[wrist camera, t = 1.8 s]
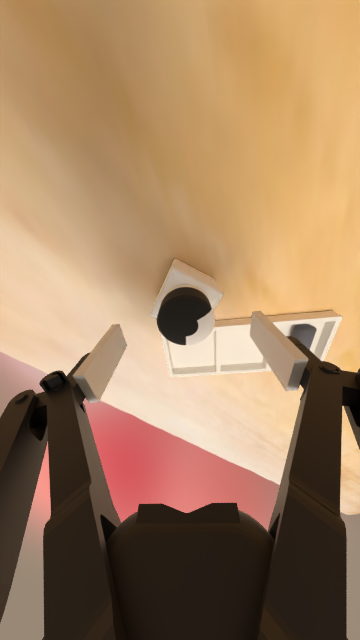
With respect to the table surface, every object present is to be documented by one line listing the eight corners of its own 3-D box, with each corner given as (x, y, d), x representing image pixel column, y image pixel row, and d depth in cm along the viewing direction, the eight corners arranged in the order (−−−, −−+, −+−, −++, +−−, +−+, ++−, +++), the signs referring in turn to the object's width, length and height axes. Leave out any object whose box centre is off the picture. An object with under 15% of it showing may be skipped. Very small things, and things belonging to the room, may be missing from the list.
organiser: (161, 325, 30) (160, 331, 28) (331, 310, 28) (342, 316, 26) (170, 369, 36) (169, 377, 34) (312, 359, 33) (320, 367, 31)
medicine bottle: (156, 297, 27) (140, 338, 17) (174, 257, 24) (168, 278, 14) (193, 314, 29) (199, 361, 18) (215, 278, 26) (236, 312, 15)
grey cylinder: (290, 324, 29) (302, 333, 26) (307, 322, 29) (321, 331, 26) (282, 357, 33) (291, 368, 30) (297, 356, 32) (308, 366, 30)
